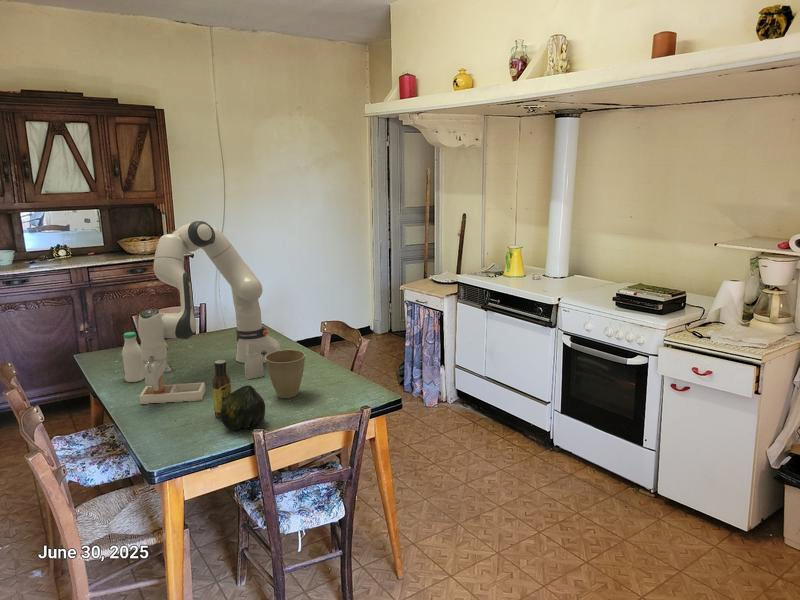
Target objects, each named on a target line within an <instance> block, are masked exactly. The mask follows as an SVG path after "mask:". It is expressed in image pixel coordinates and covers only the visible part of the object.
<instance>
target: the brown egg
mask: <svg viewBox="0 0 800 600" xmlns="http://www.w3.org/2000/svg"><path fill="white" fill-rule="evenodd" d="M158 385H159V390H158V391H154V389H153V385H151V386H152V389H153V394H162V393H164V385H165V384H164V378H163V377H162V376H161V377H160V378H159V380H158Z"/></svg>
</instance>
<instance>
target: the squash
mask: <svg viewBox="0 0 800 600" xmlns="http://www.w3.org/2000/svg"><path fill="white" fill-rule="evenodd" d="M265 415H266V403H265V401H264V398H263V397H262V396H261V395H260V394H259V393H258V391H256V389H255V388H254V387H253V386H252V385H249V384H247V385H244V386H241V387H240V388H237V389H236V390H234V391H231V394H229V395H228V396H226V397H225V399H224V401H223V404H222V408H221V417H220V419H221V422H222V424H223V426H224V427H226V428H227V429H232V430H234V431H237V430H241V428H243V429H248V428H251V427H255V426H258V425H261V424H262V422H263V421H264V420H265Z"/></svg>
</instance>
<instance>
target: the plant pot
mask: <svg viewBox="0 0 800 600" xmlns="http://www.w3.org/2000/svg"><path fill="white" fill-rule="evenodd" d="M305 356H306V353H304V352H303V351H301V350H297V349H281V350H279V351H275V352H272V353H269V354H267V355H266V356H265V361H266V363H265V364H266V369H267V372H268V375H269V378H270V382H271V384H272V386H273V388H274V391H275V393H276V395H277V397H278V398H280V399H283V398H288V399H291V398H290V397H293V398H294V396H295V397H296V395H297V396H298V395H299V394H298V393H299V391H300V387H301V383H302V378H303V373H304V369H305V360H306V359H305V358H306V357H305Z"/></svg>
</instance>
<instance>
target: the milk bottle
mask: <svg viewBox="0 0 800 600" xmlns="http://www.w3.org/2000/svg"><path fill="white" fill-rule="evenodd" d="M123 340H124V344H123V346H122V347H123V348H122V351H121V358H122V367H123V375H124V380H125V382H127V383H136V382H140V381H142V380H143V381H144V380H145V371H144V368H145V363H144V360H143V359H142V354H141V345H140V344H138V342H137V333H136V332H135V331H127V332H124V333H123Z"/></svg>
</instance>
